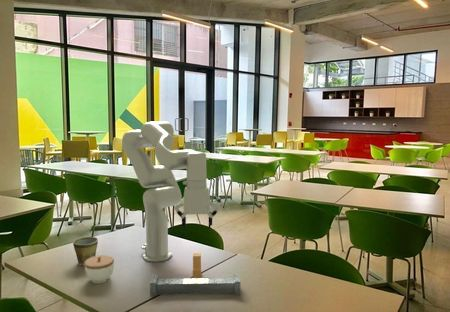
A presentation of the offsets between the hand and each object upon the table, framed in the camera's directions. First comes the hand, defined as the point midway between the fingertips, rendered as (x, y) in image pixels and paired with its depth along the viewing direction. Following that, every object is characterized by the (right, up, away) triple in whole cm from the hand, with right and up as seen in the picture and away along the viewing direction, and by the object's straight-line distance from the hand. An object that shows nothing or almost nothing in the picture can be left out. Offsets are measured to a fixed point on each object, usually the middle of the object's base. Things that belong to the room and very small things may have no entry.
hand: (197, 227), depth 142 cm
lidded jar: (-38, -21, +1) cm, 43 cm away
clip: (0, -20, +3) cm, 21 cm away
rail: (0, -22, -8) cm, 23 cm away
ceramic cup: (-50, -19, +18) cm, 56 cm away
